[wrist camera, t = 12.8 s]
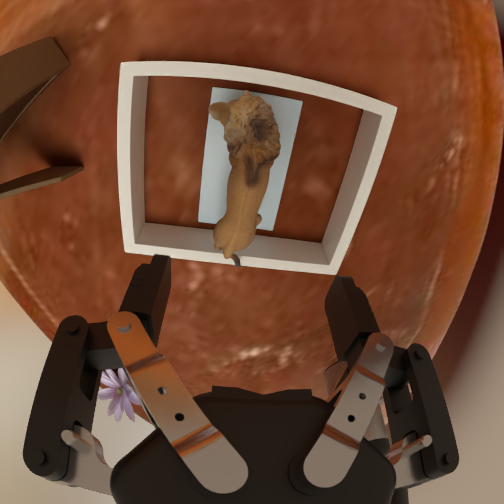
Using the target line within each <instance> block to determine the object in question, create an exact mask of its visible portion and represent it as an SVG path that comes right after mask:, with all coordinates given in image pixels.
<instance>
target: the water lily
mask: <svg viewBox="0 0 504 504" xmlns="http://www.w3.org/2000/svg"><path fill="white" fill-rule="evenodd" d="M106 372H107V373H105V372H104V371H103V372H102V377H101V381H100V382H102V383H103V384H105V385H107V386H109V387H112V388H107V389H102V390H100V391H98V396H97V399H101V400H106V399H110V398H113V397H114V396H115V397H114V398H113V399H112V401H111V402H110V404H109V406H108V411H107V413H108V416H110V415H112V414H113V413H114V415H115V419H116V421H117V422H119V421H120V419H121V417H122V413H123V411H124V408H125V412H126V414H127V416H128V417H129V418H130V419H131V420H132V421H133V422H135V416H134V411H133V408H132V405H131V403H130V401H131V402H133V403H134V404H136V405H141V403H140V401H139V399H138V397H137V396H136V394H135V392H134V391H132V388H131V387H132V386H131V385H128V384H127V377H126V375H125V373H124V371H123V369H122V368H119V369H118V377H119V379H118V378H117V376H116V374H115V373H114V372H113V370H112V369H108V370H106ZM119 381H120V382H119ZM129 400H130V401H129Z"/></svg>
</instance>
